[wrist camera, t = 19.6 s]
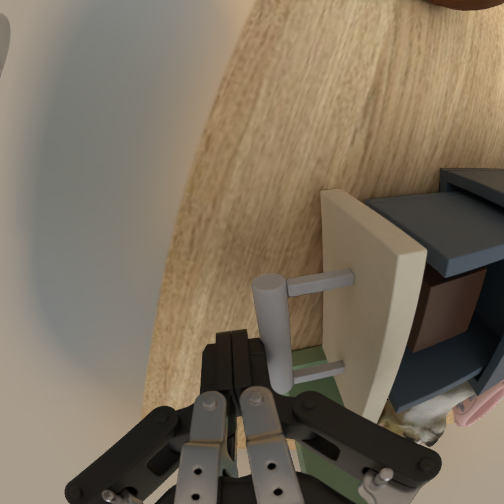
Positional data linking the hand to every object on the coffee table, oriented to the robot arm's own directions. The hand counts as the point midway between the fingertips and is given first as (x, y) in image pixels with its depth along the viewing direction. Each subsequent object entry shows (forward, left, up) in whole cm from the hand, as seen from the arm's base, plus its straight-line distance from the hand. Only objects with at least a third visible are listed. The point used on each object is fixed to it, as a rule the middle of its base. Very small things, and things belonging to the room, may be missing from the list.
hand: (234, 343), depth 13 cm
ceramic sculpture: (+16, -18, -5) cm, 24 cm away
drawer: (+10, 0, -4) cm, 11 cm away
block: (+12, 0, -3) cm, 12 cm away
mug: (+31, -26, -5) cm, 41 cm away
